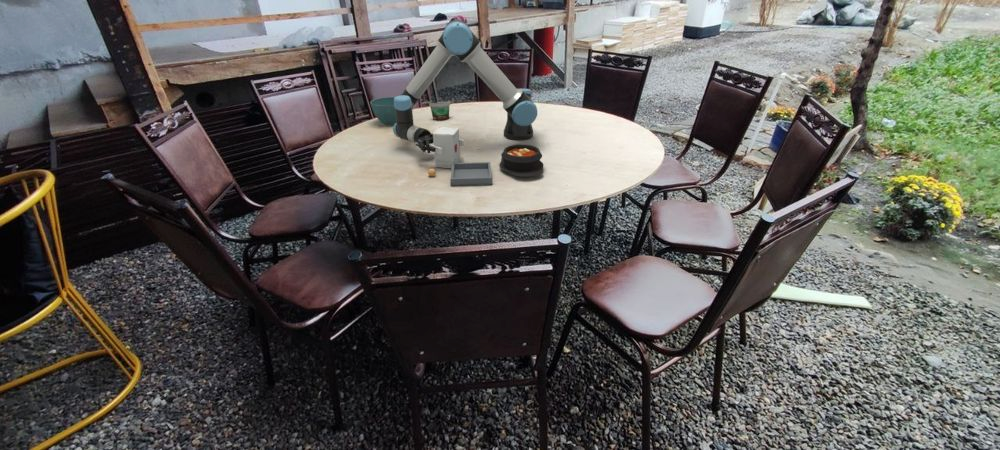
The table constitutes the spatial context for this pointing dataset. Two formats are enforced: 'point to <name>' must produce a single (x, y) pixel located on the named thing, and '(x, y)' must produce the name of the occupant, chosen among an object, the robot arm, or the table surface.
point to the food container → (440, 110)
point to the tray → (471, 174)
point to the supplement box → (447, 146)
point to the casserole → (522, 160)
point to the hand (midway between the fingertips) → (452, 147)
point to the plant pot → (384, 110)
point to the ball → (431, 172)
